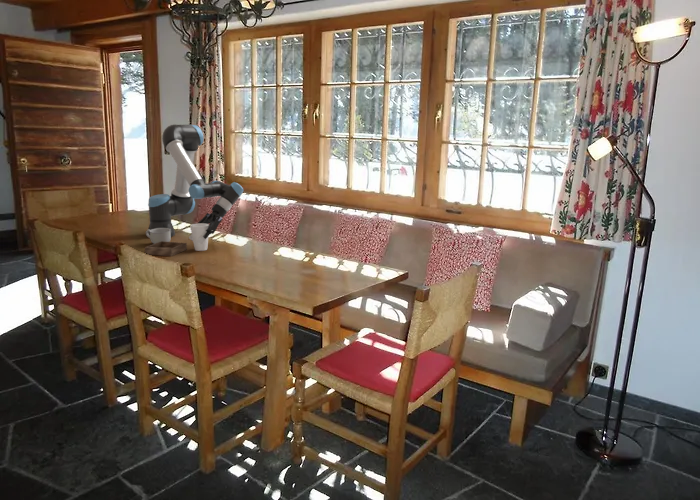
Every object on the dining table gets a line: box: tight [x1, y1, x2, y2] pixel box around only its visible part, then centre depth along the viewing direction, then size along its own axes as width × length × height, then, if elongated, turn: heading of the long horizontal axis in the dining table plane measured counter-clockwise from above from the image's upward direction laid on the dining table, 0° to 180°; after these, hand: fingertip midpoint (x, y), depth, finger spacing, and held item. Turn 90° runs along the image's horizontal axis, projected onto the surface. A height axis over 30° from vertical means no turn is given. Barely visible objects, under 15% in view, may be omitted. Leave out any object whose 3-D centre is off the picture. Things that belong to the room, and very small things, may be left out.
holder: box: [144, 241, 188, 257], centre depth 274 cm, size 15×15×4 cm
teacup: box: [145, 228, 172, 244], centre depth 290 cm, size 14×11×8 cm
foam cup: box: [189, 222, 210, 252], centre depth 279 cm, size 10×9×13 cm
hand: (194, 241), depth 277 cm, fingers closed on foam cup, 9 cm apart
